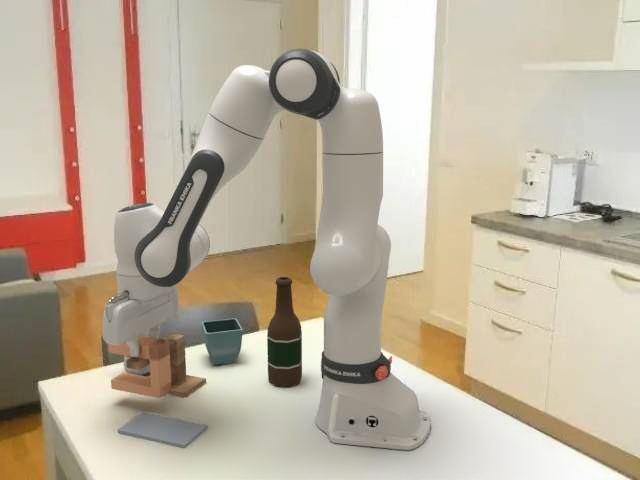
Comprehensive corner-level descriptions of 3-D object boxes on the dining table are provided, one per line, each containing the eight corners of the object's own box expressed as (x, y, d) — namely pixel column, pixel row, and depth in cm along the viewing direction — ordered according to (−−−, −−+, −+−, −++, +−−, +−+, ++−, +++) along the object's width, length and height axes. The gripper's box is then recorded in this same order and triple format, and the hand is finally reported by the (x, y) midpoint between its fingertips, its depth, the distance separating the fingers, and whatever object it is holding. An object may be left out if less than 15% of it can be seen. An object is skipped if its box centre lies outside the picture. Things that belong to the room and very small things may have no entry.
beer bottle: (280, 370, 152) (279, 271, 147) (308, 378, 148) (308, 276, 143) (261, 383, 146) (258, 280, 141) (290, 391, 142) (288, 285, 137)
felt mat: (207, 427, 126) (207, 425, 126) (184, 448, 119) (184, 445, 119) (143, 414, 132) (143, 411, 132) (117, 432, 124) (117, 429, 124)
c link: (171, 390, 134) (168, 339, 132) (160, 398, 130) (157, 346, 128) (123, 381, 138) (120, 332, 136) (111, 388, 135) (107, 338, 132)
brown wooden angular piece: (206, 382, 146) (204, 333, 144) (156, 419, 129) (153, 365, 127) (168, 375, 150) (166, 327, 147) (115, 411, 133) (111, 357, 130)
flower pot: (202, 355, 161) (200, 321, 159) (237, 351, 164) (236, 317, 162) (207, 369, 153) (205, 333, 151) (244, 365, 156) (243, 329, 154)
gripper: (119, 301, 119) (124, 372, 121) (182, 273, 137) (185, 335, 140) (91, 297, 121) (97, 367, 124) (157, 270, 139) (161, 332, 142)
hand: (144, 350), depth 132 cm, fingers closed on c link, 4 cm apart
